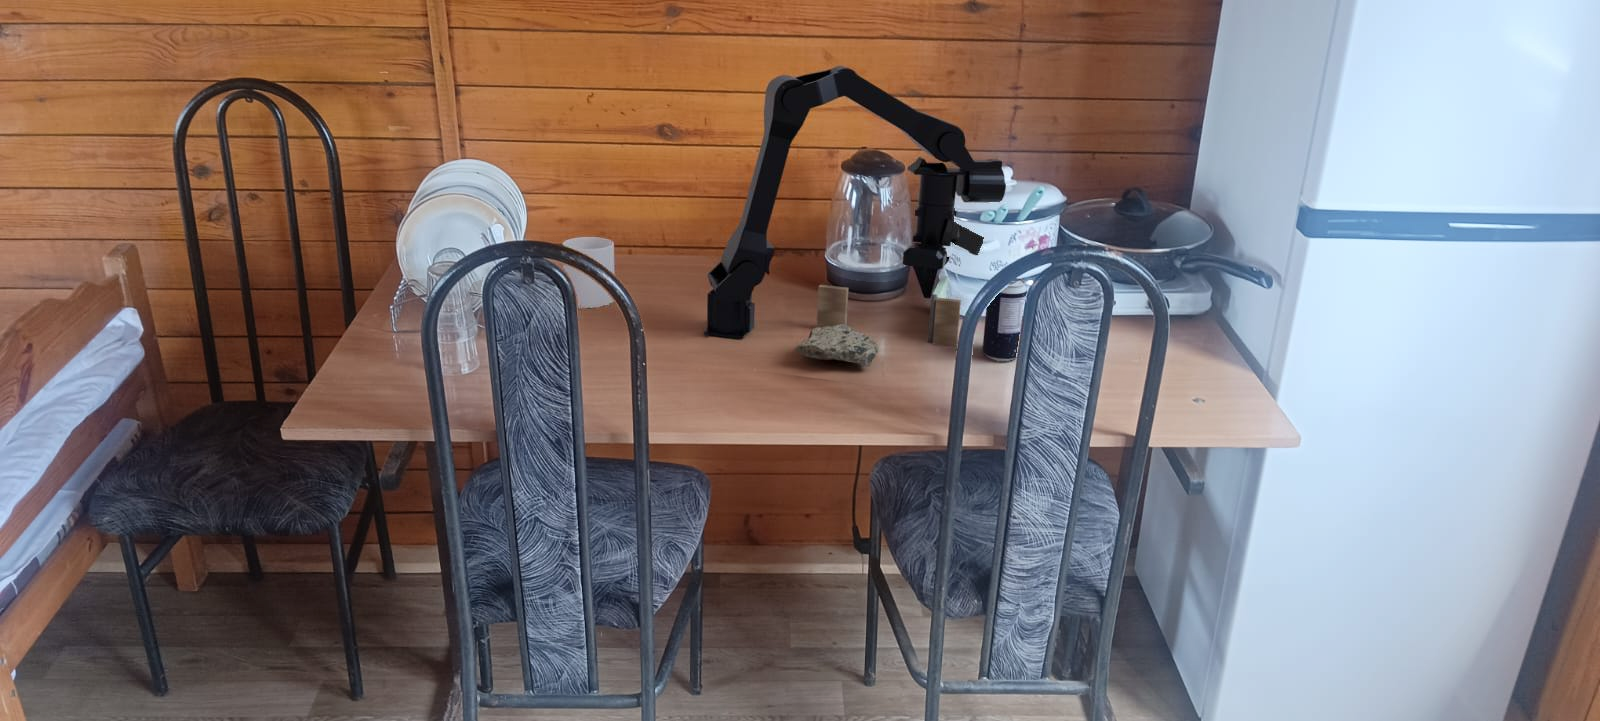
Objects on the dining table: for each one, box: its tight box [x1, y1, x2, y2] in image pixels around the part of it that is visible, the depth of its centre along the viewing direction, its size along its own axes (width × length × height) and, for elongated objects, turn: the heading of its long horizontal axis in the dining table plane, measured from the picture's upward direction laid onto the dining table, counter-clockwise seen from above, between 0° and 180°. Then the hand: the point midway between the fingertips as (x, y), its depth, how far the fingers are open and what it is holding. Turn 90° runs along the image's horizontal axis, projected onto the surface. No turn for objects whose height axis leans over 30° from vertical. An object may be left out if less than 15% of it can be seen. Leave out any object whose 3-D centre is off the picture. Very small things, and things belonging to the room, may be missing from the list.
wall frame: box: [816, 284, 962, 347], centre depth 178 cm, size 22×1×8 cm, turn 75°
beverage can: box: [981, 278, 1028, 362], centre depth 171 cm, size 6×6×12 cm
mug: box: [561, 236, 615, 310], centre depth 191 cm, size 12×8×10 cm
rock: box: [795, 324, 879, 367], centre depth 168 cm, size 11×11×4 cm
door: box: [930, 275, 949, 311], centre depth 182 cm, size 12×1×7 cm, turn 166°
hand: (927, 297), depth 186 cm, fingers closed
